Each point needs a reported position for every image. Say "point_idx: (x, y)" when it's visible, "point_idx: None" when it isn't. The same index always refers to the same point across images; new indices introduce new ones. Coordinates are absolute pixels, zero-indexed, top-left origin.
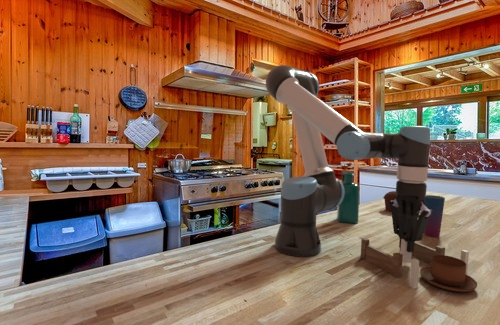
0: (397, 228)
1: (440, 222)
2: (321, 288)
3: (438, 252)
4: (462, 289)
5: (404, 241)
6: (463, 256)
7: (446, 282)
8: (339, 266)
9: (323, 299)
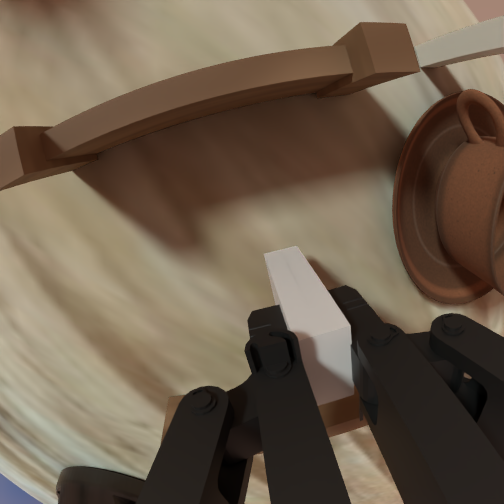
0: (244, 484)
1: None
2: (355, 494)
3: (378, 78)
4: None
5: (340, 391)
6: (501, 51)
7: (499, 242)
8: (258, 473)
9: (387, 489)
